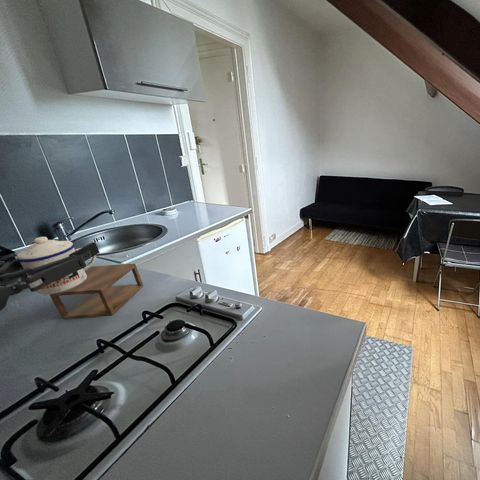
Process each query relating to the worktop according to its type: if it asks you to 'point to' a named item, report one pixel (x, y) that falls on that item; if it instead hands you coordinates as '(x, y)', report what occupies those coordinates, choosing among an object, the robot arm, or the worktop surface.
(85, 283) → the rack
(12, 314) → the worktop surface
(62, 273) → the robot arm
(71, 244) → the teacup with lid
